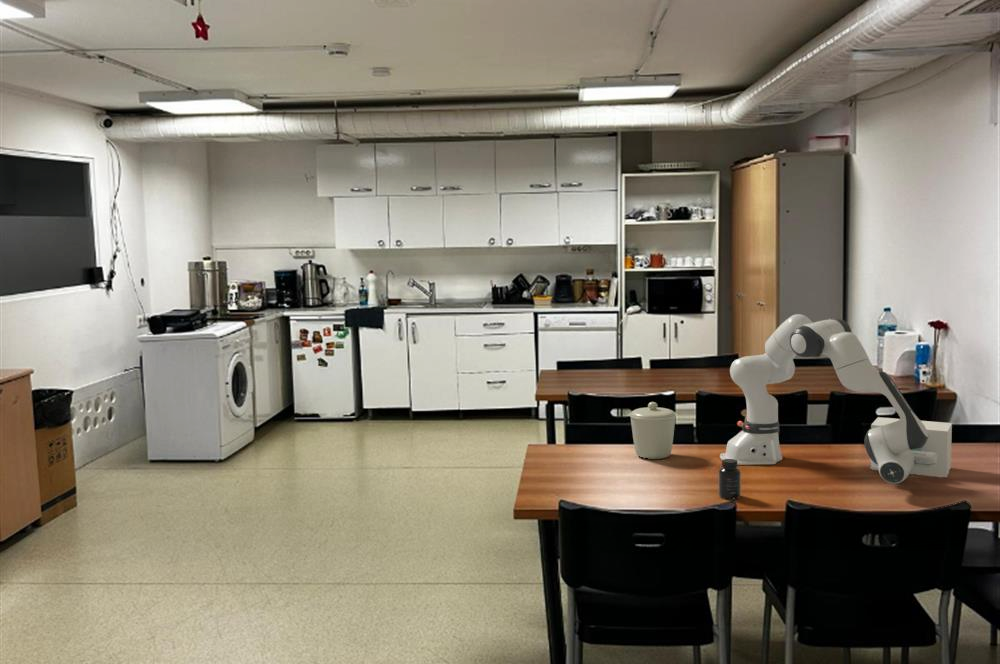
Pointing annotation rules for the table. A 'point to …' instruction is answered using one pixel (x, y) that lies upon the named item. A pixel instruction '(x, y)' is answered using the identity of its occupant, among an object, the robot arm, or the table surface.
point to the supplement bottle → (729, 479)
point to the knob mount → (930, 446)
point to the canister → (653, 431)
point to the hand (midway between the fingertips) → (906, 451)
